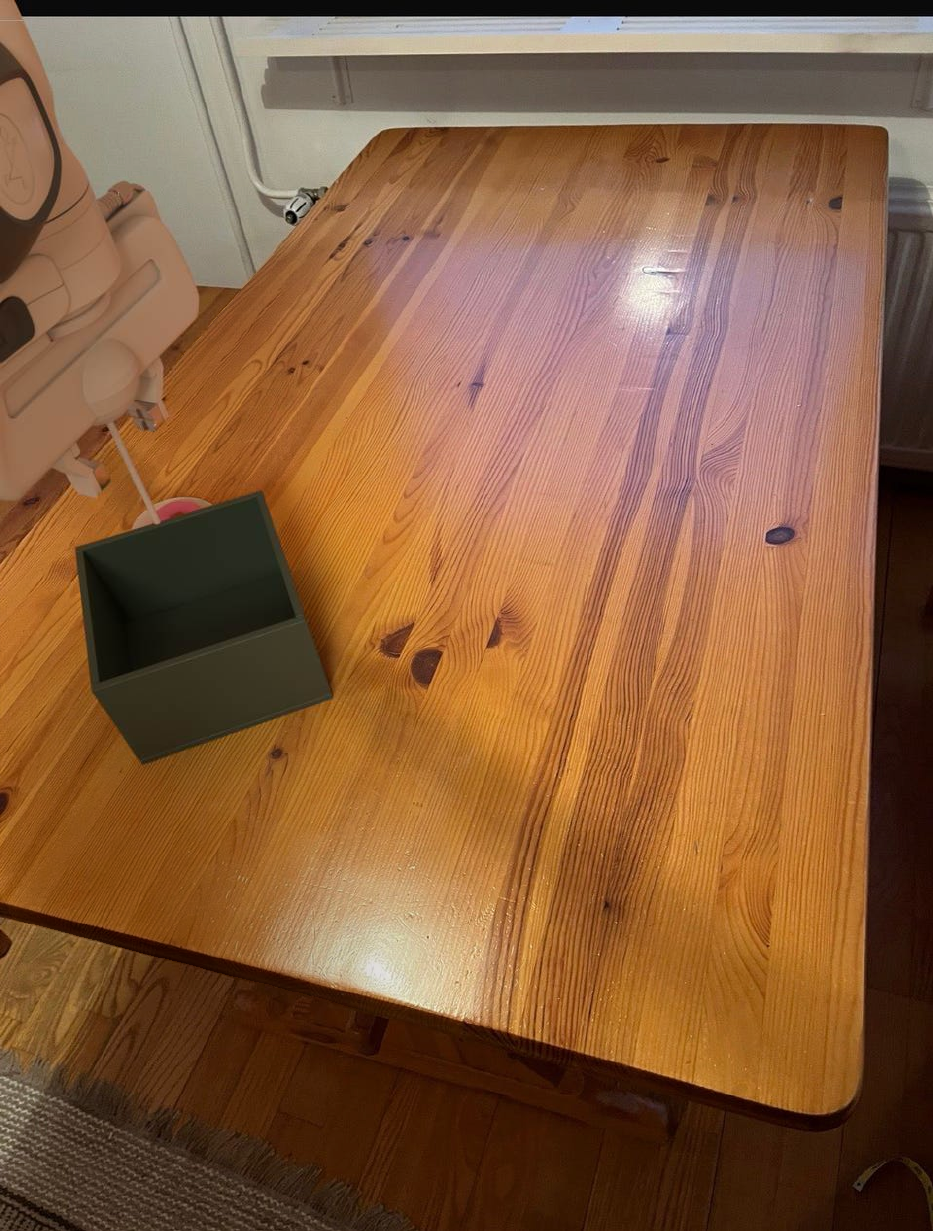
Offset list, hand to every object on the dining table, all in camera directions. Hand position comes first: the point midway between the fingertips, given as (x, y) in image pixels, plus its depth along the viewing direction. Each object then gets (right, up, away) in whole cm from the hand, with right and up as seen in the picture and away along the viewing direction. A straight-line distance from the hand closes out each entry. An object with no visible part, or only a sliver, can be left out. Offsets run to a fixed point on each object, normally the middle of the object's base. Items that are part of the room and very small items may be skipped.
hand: (124, 456), depth 60 cm
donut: (-6, -3, +27) cm, 28 cm away
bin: (+2, -14, +17) cm, 22 cm away
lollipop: (+1, -4, +5) cm, 6 cm away
